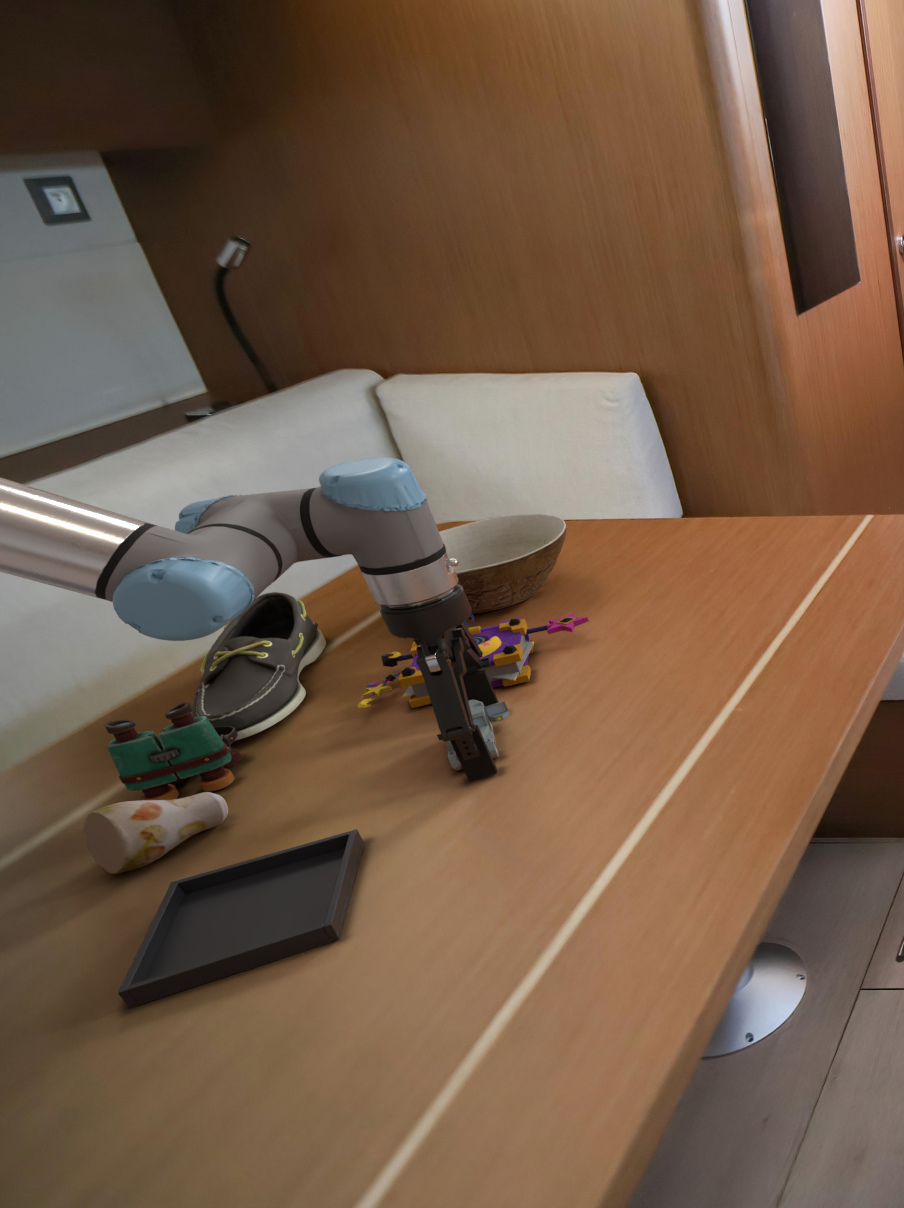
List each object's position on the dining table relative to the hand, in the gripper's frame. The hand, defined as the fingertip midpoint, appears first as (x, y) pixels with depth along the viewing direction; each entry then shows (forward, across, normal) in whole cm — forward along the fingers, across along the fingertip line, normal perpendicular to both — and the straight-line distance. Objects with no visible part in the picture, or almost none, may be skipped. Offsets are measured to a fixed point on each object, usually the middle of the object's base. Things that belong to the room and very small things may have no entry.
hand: (486, 745), depth 117 cm
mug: (0, -3, +27) cm, 27 cm away
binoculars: (0, +10, +28) cm, 30 cm away
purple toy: (0, +20, +1) cm, 20 cm away
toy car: (0, 0, 0) cm, 0 cm away
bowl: (0, +45, +1) cm, 45 cm away
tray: (0, -21, +17) cm, 27 cm away
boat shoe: (0, +30, +25) cm, 39 cm away
